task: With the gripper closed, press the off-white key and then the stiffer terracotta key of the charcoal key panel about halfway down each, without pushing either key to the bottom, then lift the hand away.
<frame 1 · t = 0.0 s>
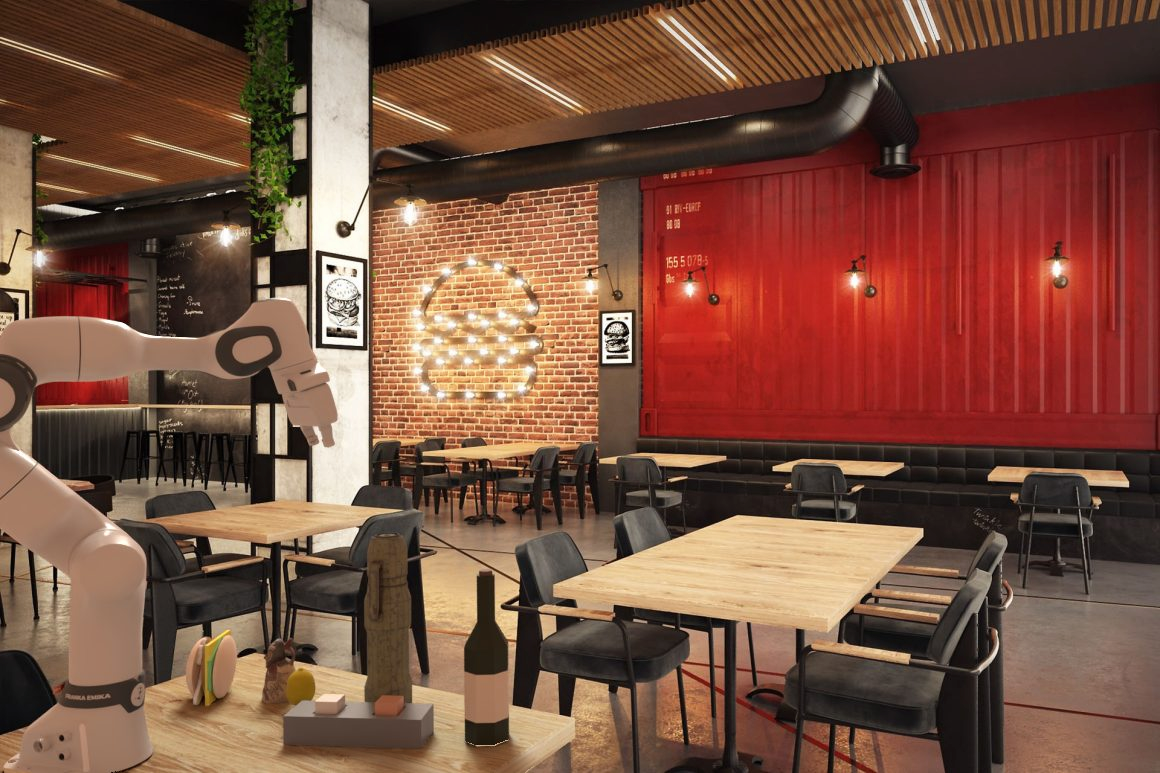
hand: (322, 445, 169), 52 cm above the table, tool tilted 20°, fingers open, 8 cm apart
hamburger: (211, 696, 179), on the table
wine bottle: (487, 739, 154), on the table
clay key: (389, 709, 155), point 5 cm above the table, slide at 0.0 cm
figurine: (280, 698, 177), on the table
lemon: (300, 709, 170), on the table
pale key: (330, 707, 156), point 5 cm above the table, slide at 0.0 cm
thermos: (388, 718, 165), on the table
key panel: (359, 737, 155), on the table
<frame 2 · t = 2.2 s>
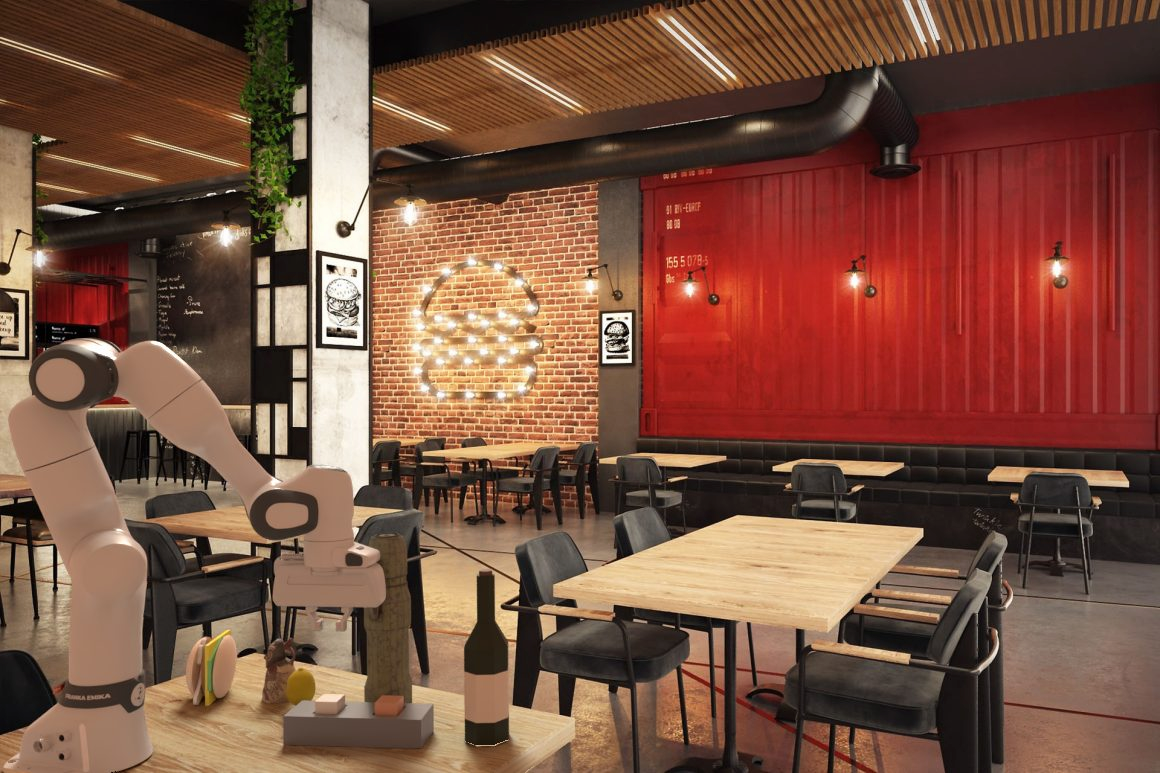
hand: (329, 630, 156), 19 cm above the table, tool pointing down, fingers open, 3 cm apart
nothing on the table moved.
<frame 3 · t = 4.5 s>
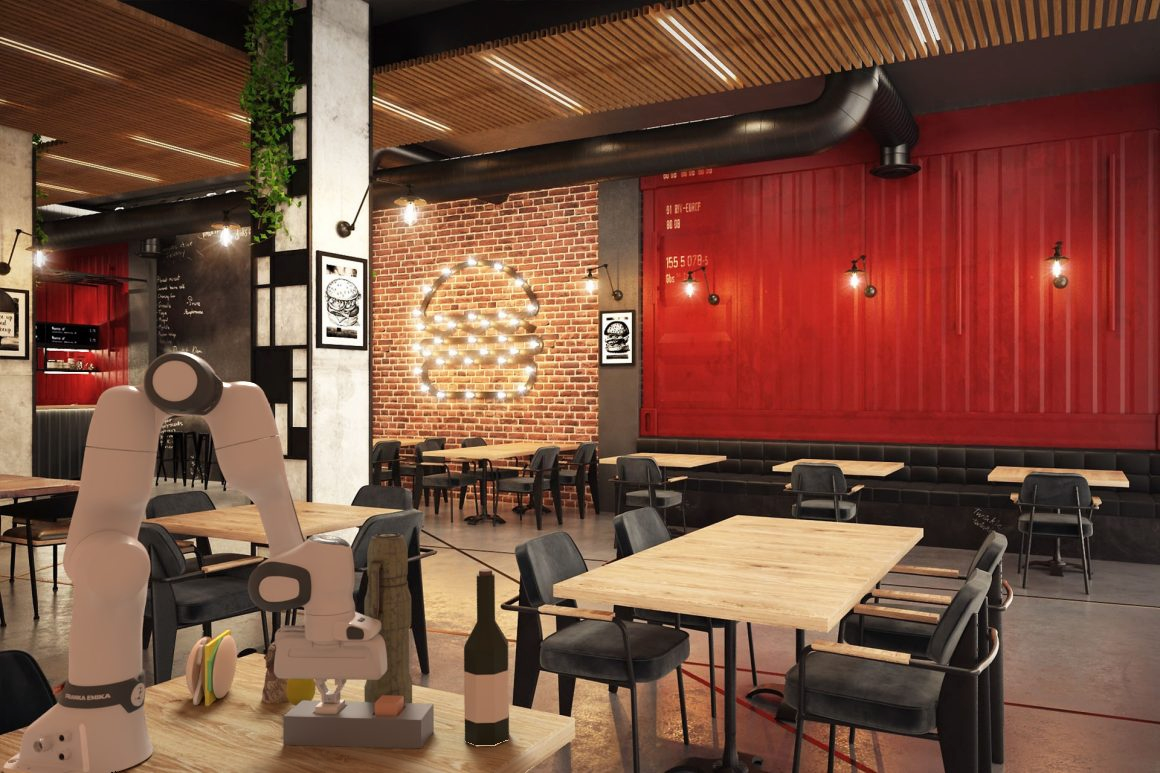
hand: (331, 702, 156), 6 cm above the table, tool pointing down, fingers closed, pressing on pale key
pale key: (330, 712, 156), point 4 cm above the table, slide at 0.9 cm, touching gripper
everything else where it was.
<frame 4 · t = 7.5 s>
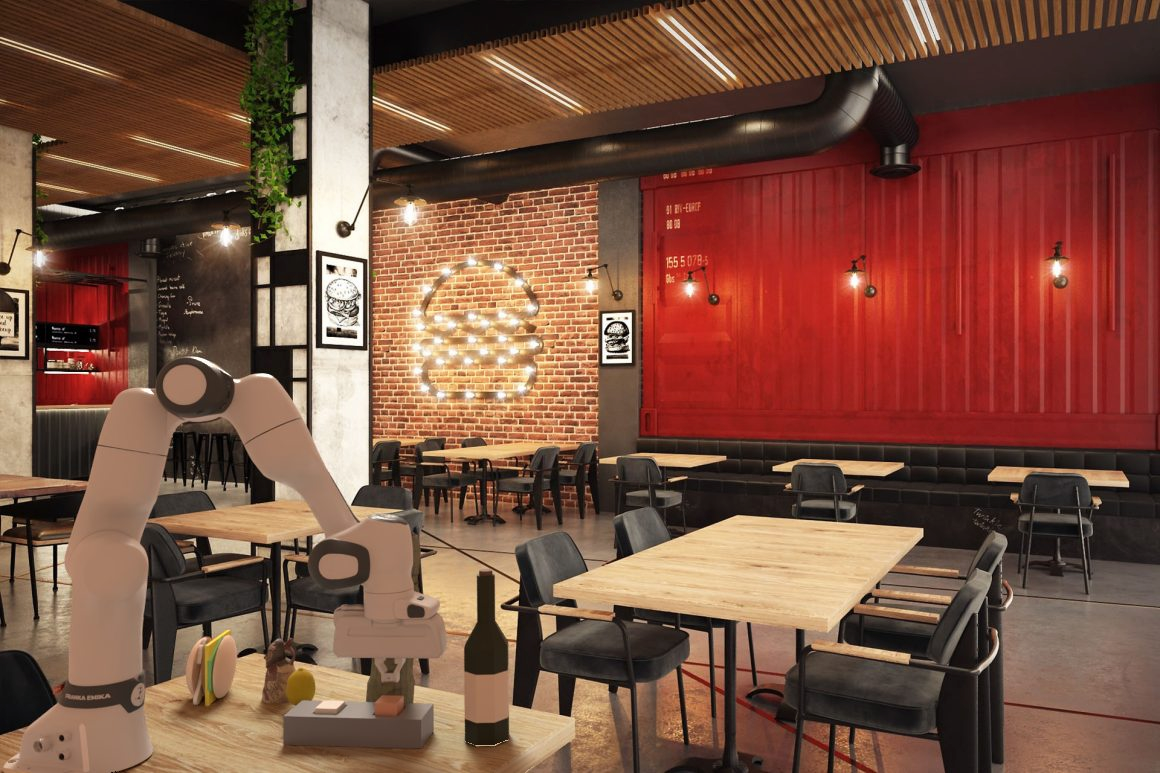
hand: (390, 681, 155), 10 cm above the table, tool pointing down, fingers closed
pale key: (330, 714, 156), point 4 cm above the table, slide at 1.2 cm
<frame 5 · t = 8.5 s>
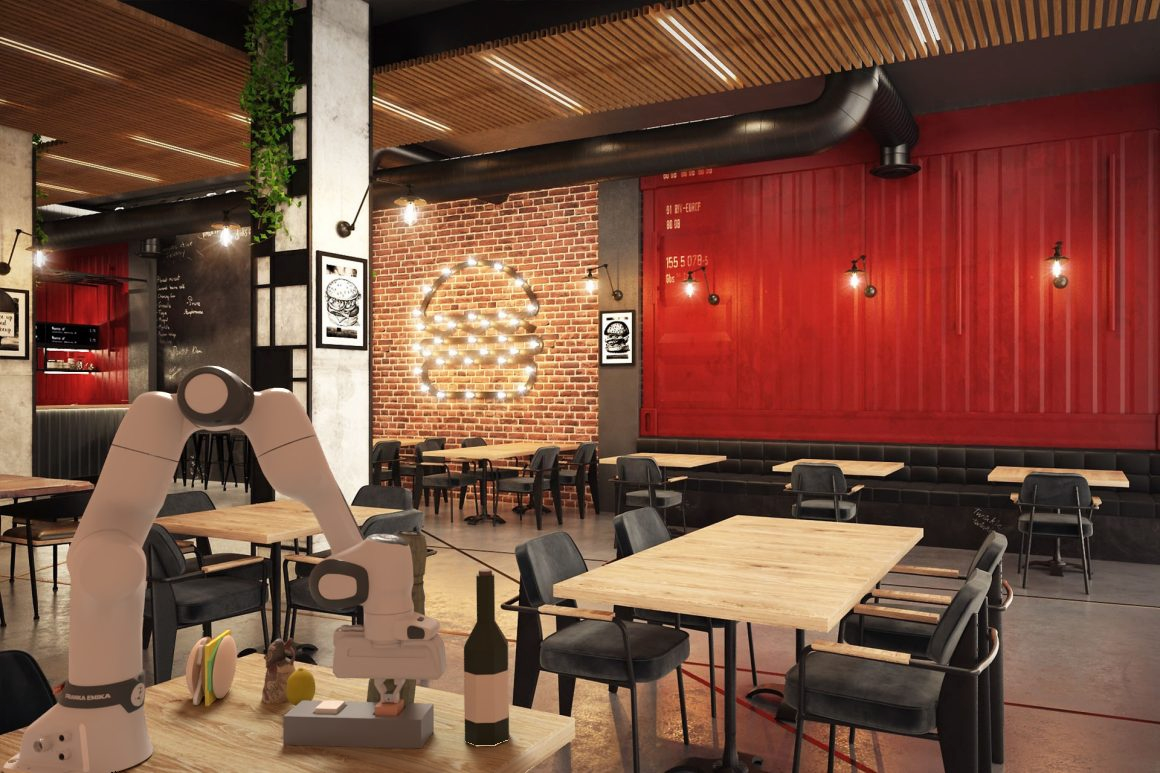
hand: (390, 702, 155), 6 cm above the table, tool pointing down, fingers closed, pressing on clay key
clay key: (389, 712, 155), point 5 cm above the table, slide at 0.6 cm, touching gripper
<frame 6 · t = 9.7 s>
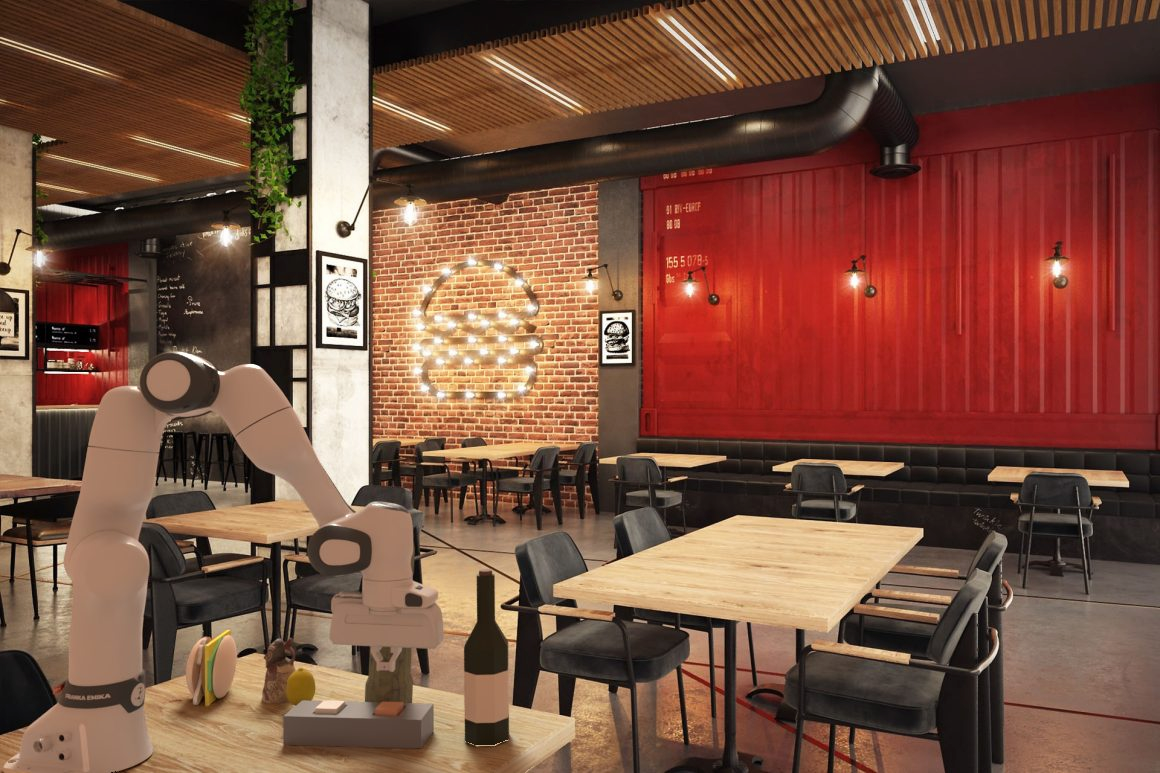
hand: (385, 670, 154), 12 cm above the table, tool pointing down, fingers closed
clay key: (389, 715, 155), point 4 cm above the table, slide at 1.1 cm
thermos: (388, 717, 165), on the table, touching arm
everything else where it was.
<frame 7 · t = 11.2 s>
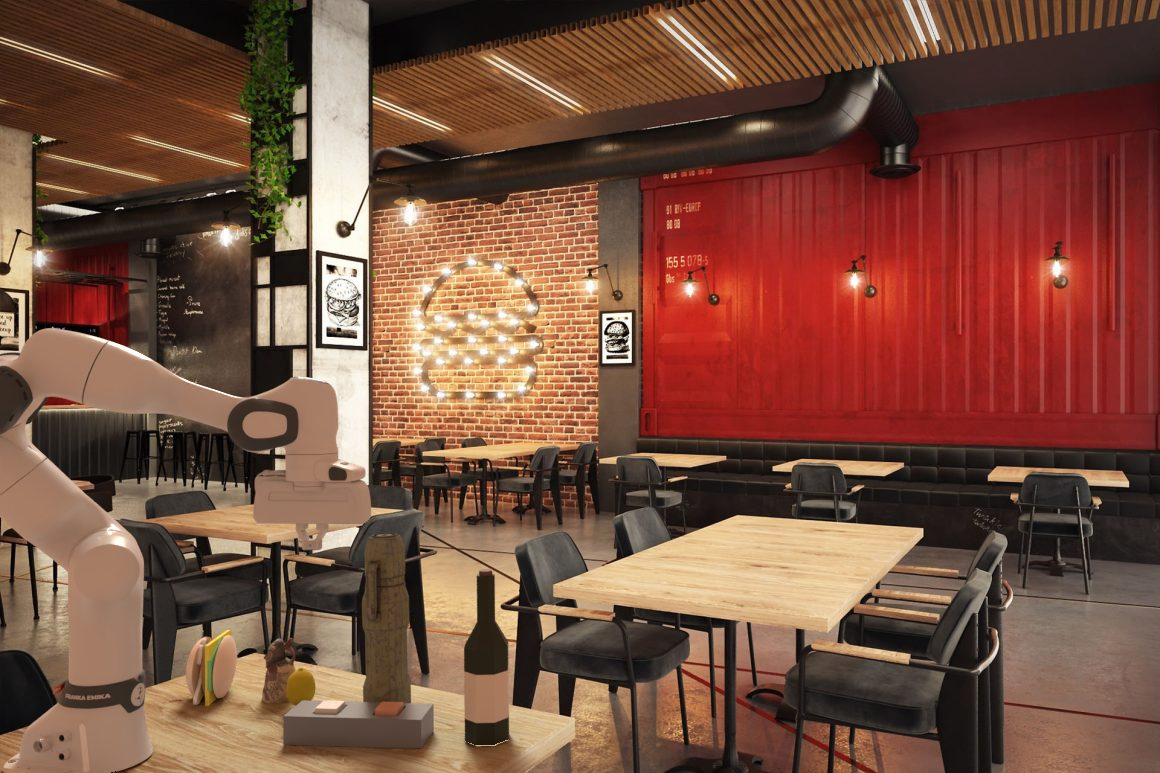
hand: (312, 549, 150), 35 cm above the table, tool pointing down, fingers closed
thermos: (387, 718, 165), on the table
everything else where it was.
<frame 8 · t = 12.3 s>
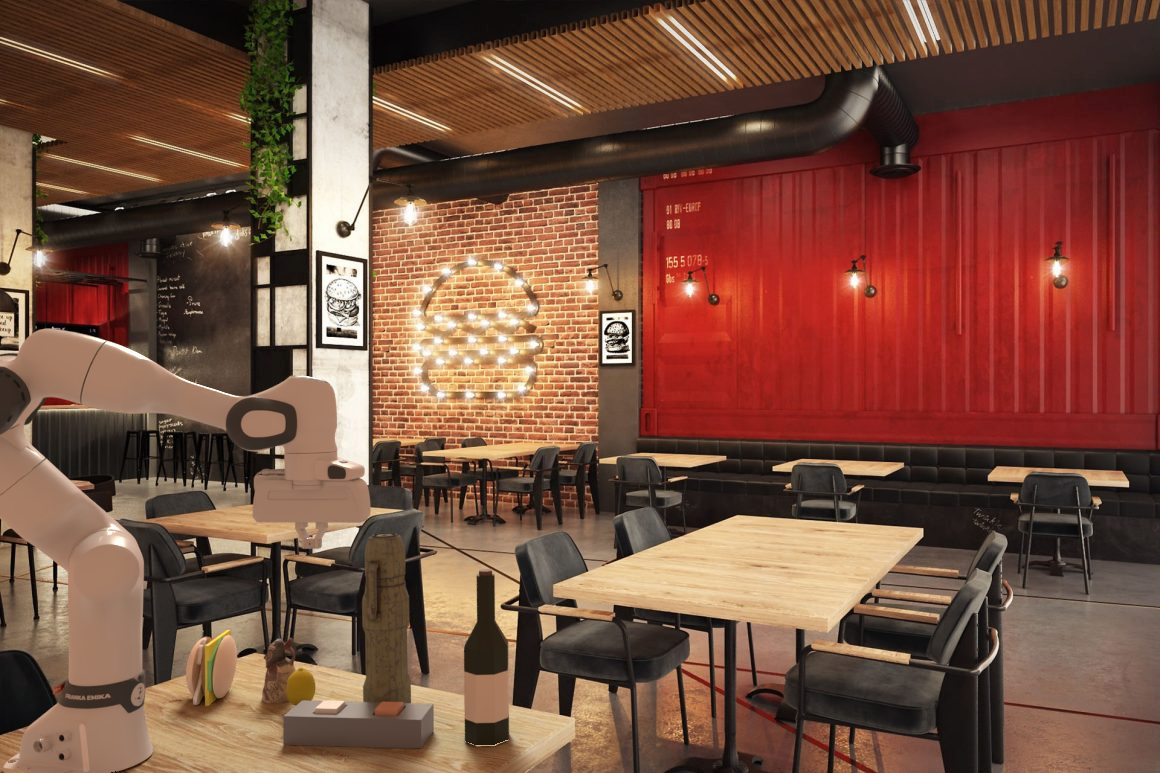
hand: (311, 548, 150), 35 cm above the table, tool pointing down, fingers closed
nothing on the table moved.
at the end: pale key slide at 1.2 cm; clay key slide at 1.1 cm; thermos moved 0.3 cm from its start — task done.
